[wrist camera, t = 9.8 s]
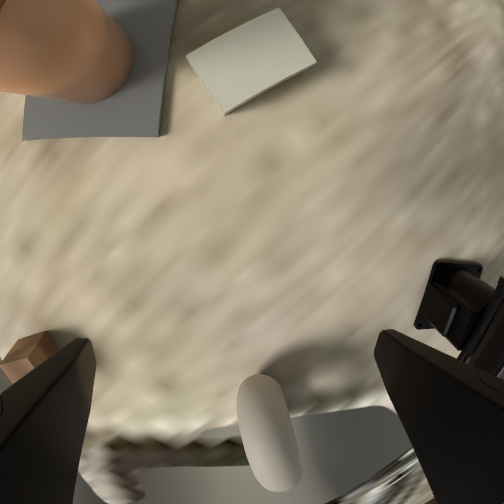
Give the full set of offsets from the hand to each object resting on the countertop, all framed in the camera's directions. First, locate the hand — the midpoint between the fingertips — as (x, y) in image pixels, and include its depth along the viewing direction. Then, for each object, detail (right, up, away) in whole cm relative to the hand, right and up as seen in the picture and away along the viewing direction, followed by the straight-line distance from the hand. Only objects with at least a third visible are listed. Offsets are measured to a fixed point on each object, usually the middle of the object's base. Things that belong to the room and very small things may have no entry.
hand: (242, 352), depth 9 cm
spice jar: (-10, +15, +7) cm, 19 cm away
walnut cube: (-18, -6, +14) cm, 24 cm away
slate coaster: (-10, +15, +7) cm, 19 cm away
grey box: (0, +14, +9) cm, 17 cm away
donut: (+1, -9, +18) cm, 20 cm away
